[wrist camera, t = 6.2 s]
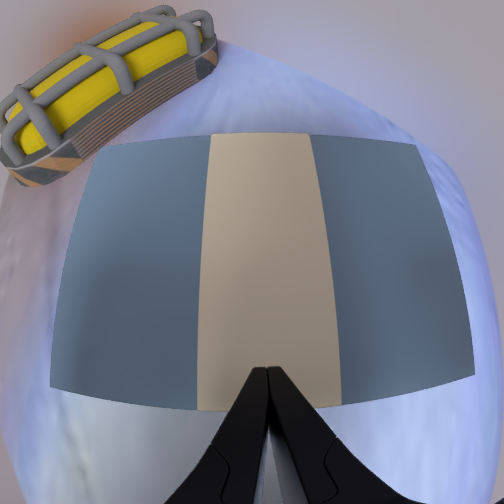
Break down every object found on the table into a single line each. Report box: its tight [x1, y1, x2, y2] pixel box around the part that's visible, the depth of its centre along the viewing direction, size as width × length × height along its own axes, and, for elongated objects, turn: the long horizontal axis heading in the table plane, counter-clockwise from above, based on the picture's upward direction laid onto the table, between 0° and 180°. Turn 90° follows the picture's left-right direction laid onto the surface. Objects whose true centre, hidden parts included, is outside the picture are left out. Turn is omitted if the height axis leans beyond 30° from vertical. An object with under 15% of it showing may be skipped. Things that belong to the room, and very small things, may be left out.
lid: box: [50, 133, 475, 412], centre depth 12 cm, size 13×18×1 cm
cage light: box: [0, 5, 218, 187], centre depth 25 cm, size 15×8×30 cm
